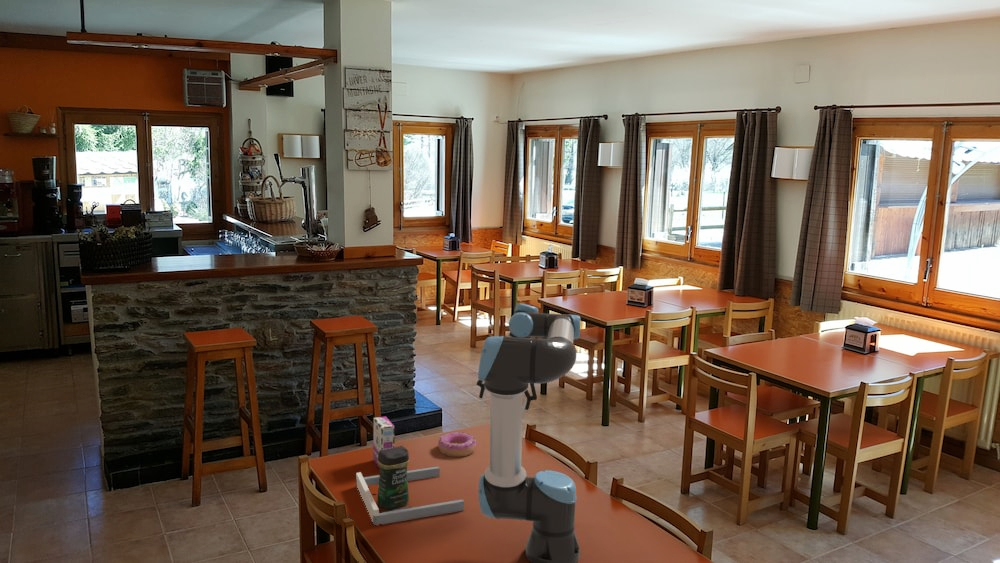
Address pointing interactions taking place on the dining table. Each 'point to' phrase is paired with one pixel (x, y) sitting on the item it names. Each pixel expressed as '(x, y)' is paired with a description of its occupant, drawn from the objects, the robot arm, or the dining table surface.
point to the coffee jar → (393, 477)
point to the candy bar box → (382, 436)
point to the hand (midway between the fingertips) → (501, 413)
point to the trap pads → (396, 509)
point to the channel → (409, 512)
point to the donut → (457, 444)
